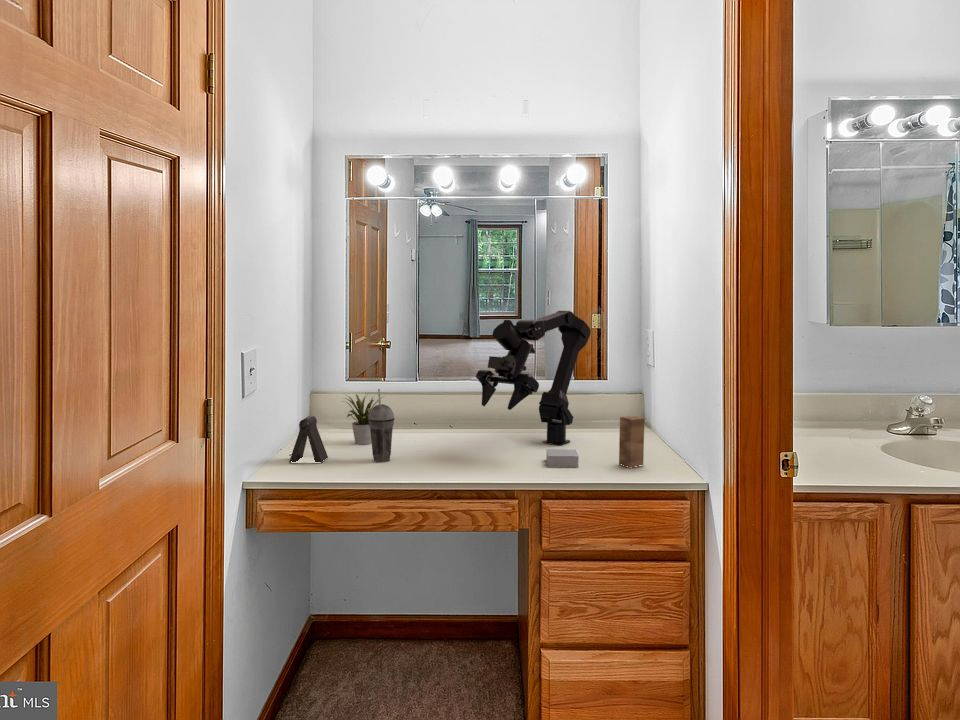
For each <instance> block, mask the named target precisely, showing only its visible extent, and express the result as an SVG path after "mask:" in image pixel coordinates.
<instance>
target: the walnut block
mask: <svg viewBox="0 0 960 720" xmlns="http://www.w3.org/2000/svg"><path fill="white" fill-rule="evenodd" d="M618 445H619V447H618V448H619V449H618V450H619V452H618V454H619V455H618V465H619V464H622V465H624V466H623V467H625V466H628V467H635V466H639V465H643V466H644V455H645V454H644V452H645V451H644V450H645V449H644V445H645V417H642V416H637V415H625V416H620V417H619V443H618ZM628 467H627V468H628Z"/></svg>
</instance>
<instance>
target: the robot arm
mask: <svg viewBox="0 0 960 720" xmlns="http://www.w3.org/2000/svg"><path fill="white" fill-rule="evenodd" d="M557 328H558V332H559V333H560V334H561V337H560V338H561V342H562V346H563V347H562V351H561V355H560V357H559V361H558V363H557V368H556V371H555V375H554V378H553V381H552V384H551V388H550V389H549V390H548V391H543V392H542V394H541V399H540V401H539V402H538V405H539V406H538V412H539V417H540V421H541V423H545V424H546V439H545V440H542V443H543V444H549V445H550V444H551V445H557V446H563V445H566V444H568V443H570V442H571V439H567V426H571V425H573V420H574V416H573V414H572V413H571V411H570V409H569V405H570V402H569V399H568V395H567V393H568V391H569V386H570V383H571V379H572V377H573V372H574V369H575V366H576V362H577V359H578V356H579V352H580V351H582V349H583V348H585V346H587V343H588V341H589V339H590V337H591V328H590V327H589V325H588V324H587V322H586V321H585V320H583V319H582V318H580V317H578V316H576V314H575V313H574V312H572V311H570V310H558V311H556V312H554V313H551V314H548V315H546V316H542V317H540V318H536V319H521V320H520V319H519V320H517V322H516V324H514V322H513V321H512V320H510V319H503V322H502V323H500V324H498V325H497V326H496V327H495V328H494V329H493V331H492V337H493V339H494V340H495V341H497V343H498V344H499V345H500V346H501V347H502V348H503V349H504V350H506V351H508V352H507V353H506V355H505V356H491V355H490V356H489V357H488V362H487V368H488V369H479V370H478V371H477V373H476V375H475V378H476V380H478V382H479V383H480V384H481V389H482V390H481V391H482V393H481V406H483V407H486V406H487V404H488V402H489V401H490V399H491V398H492V396H493V394H494V393H495V392H496V391H497V388H496V387H497V386H498V385H499V384H509V385H513V392H512V394H511V395H510V396H511V397H510V399H509V402H508V405H507V409H508V410H509V411H511V410H512V409H513V408H515V407H516V406H517V405H518V404H519V403H520V402H522V401H523V400H524V399H525V398H527V397H528V396H530V395H533V393H537V392H538V390H539V388H540V383H539V382H538V380H537V379H536V378H535V377H534V376H533V375H532V374H531V373H522V372H526V370H527V366H525V365H526V363H527V361H528V357H529V355H530V354H534V355H535V354H536V349H535V348H534V344H533V343H529V341H534V342H535V341H536V342H537V341H539V340H540V339H542V338H543V337H544V336H545V335H546V333H547V332H550V331H552V330H554V329H557ZM490 369H494V372H495V374H494V373H493V372H492V371H491V370H490ZM496 374H497V375H496Z"/></svg>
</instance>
